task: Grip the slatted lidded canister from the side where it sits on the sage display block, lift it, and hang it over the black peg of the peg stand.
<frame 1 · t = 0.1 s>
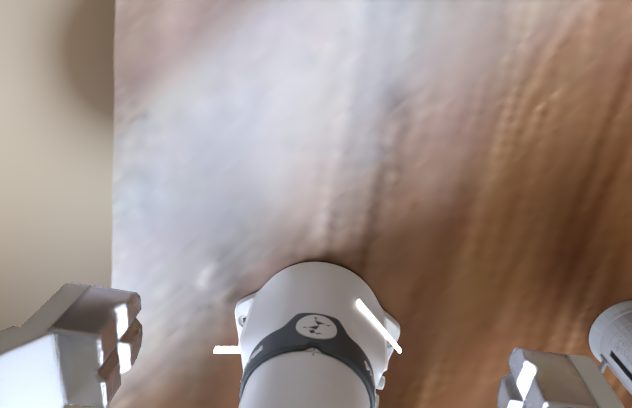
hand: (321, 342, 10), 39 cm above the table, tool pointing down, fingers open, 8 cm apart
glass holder: (604, 341, 53), on the table
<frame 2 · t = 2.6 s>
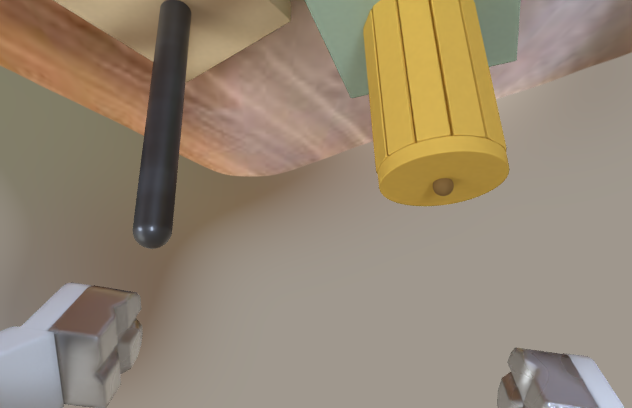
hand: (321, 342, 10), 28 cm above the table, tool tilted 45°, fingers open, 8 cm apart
slatted lidded canister: (418, 24, 27), point 9 cm above the table, touching display block
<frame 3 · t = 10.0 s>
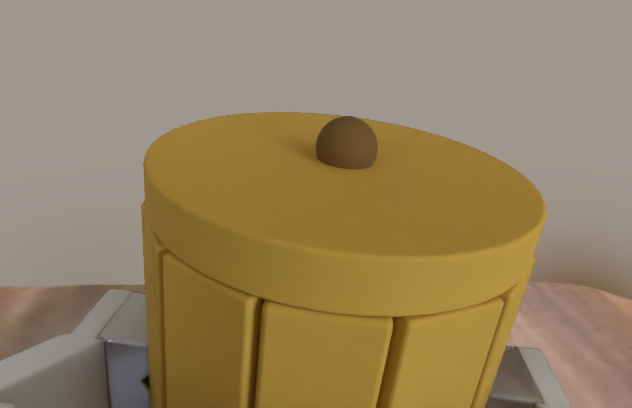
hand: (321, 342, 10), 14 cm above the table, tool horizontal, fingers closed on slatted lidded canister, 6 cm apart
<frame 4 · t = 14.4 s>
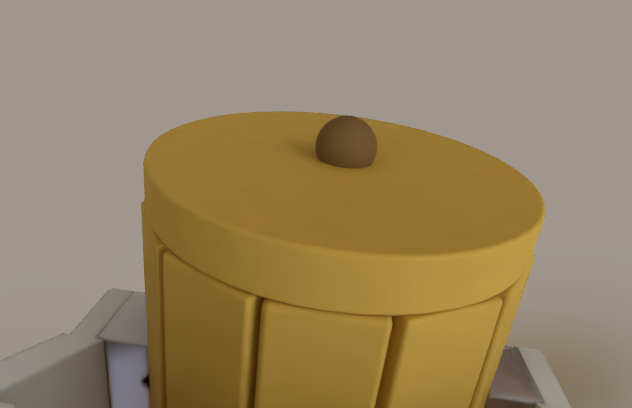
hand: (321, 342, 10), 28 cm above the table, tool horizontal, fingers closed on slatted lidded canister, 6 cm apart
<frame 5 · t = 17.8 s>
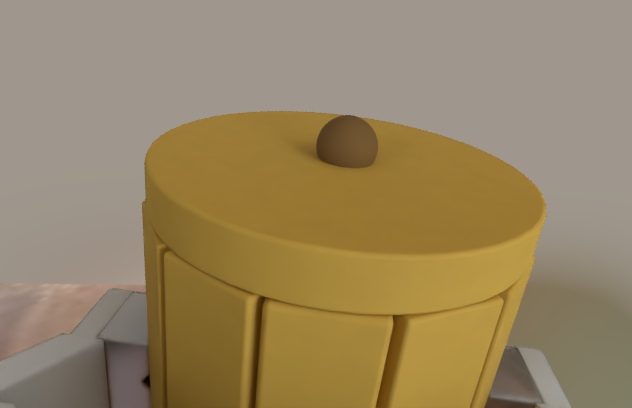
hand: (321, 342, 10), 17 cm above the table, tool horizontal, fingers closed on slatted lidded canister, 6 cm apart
when the fingers open (16 cm above the table, at t = 18.7 s): slatted lidded canister stays where it is, resting on peg stand.
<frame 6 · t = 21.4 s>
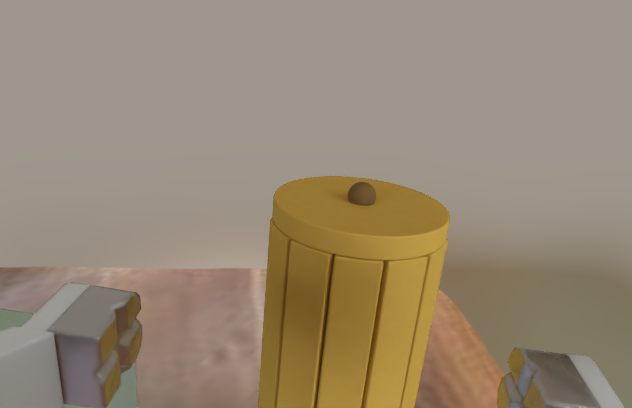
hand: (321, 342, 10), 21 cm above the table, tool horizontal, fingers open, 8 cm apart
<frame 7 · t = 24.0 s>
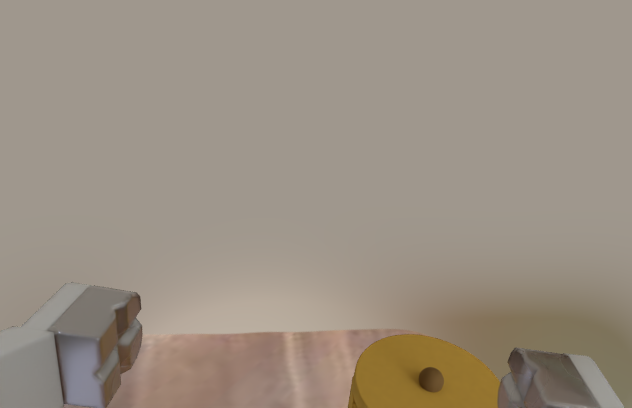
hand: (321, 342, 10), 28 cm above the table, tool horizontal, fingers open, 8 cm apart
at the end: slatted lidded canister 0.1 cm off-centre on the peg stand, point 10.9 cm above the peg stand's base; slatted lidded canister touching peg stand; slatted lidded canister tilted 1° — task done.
